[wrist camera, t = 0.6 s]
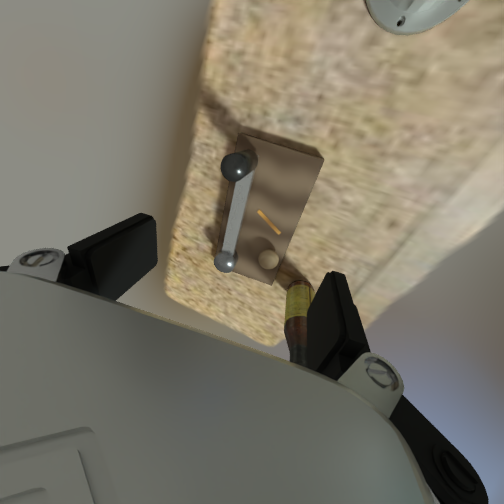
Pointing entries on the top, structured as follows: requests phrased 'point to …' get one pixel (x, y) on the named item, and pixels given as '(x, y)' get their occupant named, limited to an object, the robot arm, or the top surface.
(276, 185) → the board
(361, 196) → the top surface
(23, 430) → the robot arm
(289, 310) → the sauce bottle
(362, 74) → the top surface
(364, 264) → the top surface
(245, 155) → the lever
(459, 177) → the top surface
